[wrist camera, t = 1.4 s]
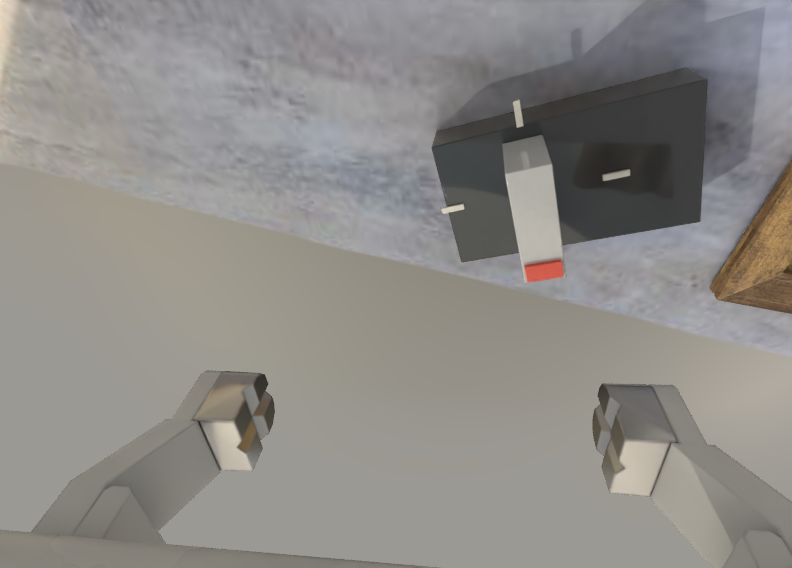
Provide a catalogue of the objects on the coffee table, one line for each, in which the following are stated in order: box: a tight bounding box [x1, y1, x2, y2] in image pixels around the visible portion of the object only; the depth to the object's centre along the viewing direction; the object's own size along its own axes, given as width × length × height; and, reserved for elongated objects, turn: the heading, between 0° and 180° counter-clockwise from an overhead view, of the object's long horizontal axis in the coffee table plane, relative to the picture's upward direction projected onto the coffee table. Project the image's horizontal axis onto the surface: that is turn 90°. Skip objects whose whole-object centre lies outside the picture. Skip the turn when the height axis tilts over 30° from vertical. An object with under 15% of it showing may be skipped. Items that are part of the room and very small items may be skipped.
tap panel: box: [432, 68, 708, 262], centre depth 28 cm, size 14×11×3 cm
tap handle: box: [502, 135, 566, 283], centre depth 25 cm, size 6×2×5 cm, turn 17°
